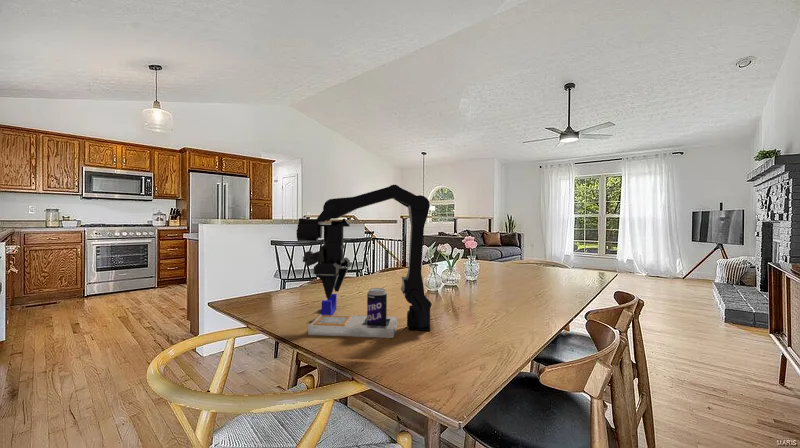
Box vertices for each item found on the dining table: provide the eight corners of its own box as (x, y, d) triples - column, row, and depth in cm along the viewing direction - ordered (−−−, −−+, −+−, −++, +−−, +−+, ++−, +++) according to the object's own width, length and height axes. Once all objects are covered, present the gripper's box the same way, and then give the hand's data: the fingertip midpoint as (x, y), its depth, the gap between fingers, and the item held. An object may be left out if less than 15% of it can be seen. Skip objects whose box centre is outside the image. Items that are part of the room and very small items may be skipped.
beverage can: (364, 328, 103) (365, 288, 103) (382, 326, 105) (382, 287, 105) (370, 334, 98) (370, 292, 98) (389, 332, 100) (389, 290, 100)
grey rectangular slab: (396, 324, 107) (397, 315, 107) (393, 337, 95) (393, 327, 95) (320, 322, 109) (320, 313, 109) (308, 334, 97) (308, 324, 97)
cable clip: (323, 310, 125) (324, 293, 125) (336, 310, 125) (336, 293, 125) (316, 319, 113) (317, 301, 113) (330, 319, 113) (330, 301, 113)
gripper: (316, 239, 112) (315, 287, 112) (295, 243, 93) (294, 300, 94) (350, 240, 111) (349, 288, 111) (335, 244, 93) (335, 302, 93)
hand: (332, 294), depth 102 cm, fingers open, 9 cm apart
